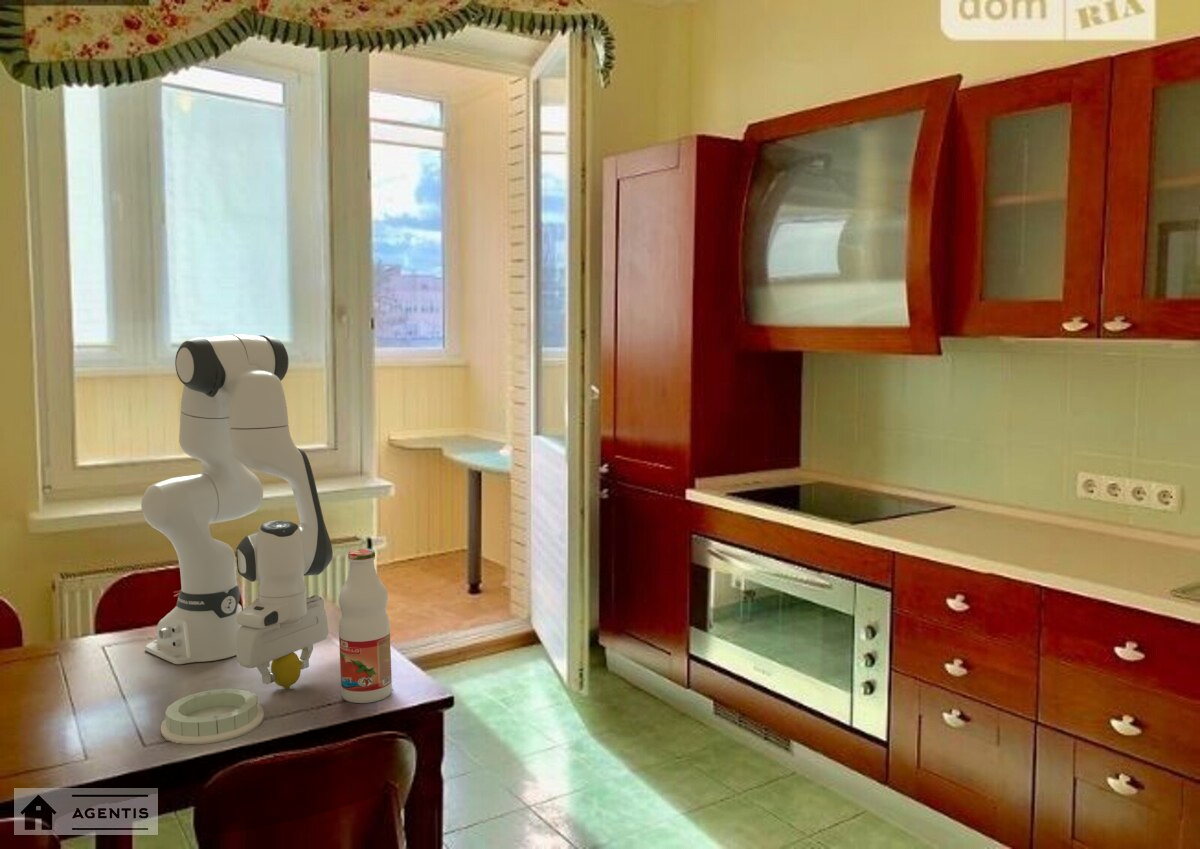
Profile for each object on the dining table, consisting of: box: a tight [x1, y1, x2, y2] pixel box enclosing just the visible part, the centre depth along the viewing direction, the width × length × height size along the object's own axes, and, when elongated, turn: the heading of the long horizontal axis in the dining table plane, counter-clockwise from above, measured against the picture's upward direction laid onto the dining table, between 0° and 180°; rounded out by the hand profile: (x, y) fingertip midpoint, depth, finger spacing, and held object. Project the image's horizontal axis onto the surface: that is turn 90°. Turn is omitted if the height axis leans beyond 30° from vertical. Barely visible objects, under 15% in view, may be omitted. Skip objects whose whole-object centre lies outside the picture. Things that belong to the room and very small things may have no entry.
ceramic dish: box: [160, 688, 265, 745], centre depth 172 cm, size 17×17×4 cm
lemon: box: [270, 652, 302, 690], centre depth 188 cm, size 6×6×8 cm
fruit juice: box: [338, 548, 393, 704], centre depth 184 cm, size 9×9×28 cm
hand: (286, 675), depth 188 cm, fingers open, 7 cm apart
